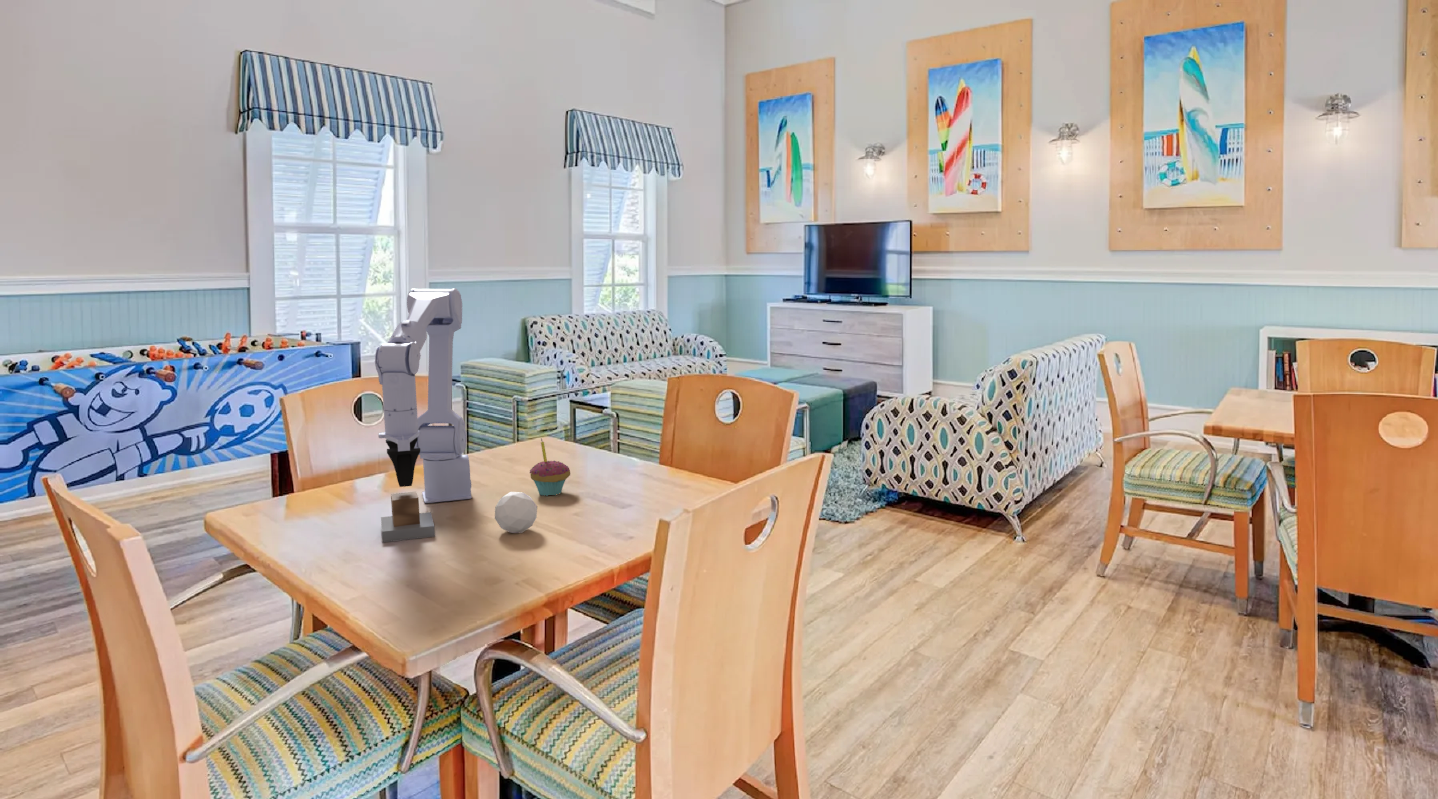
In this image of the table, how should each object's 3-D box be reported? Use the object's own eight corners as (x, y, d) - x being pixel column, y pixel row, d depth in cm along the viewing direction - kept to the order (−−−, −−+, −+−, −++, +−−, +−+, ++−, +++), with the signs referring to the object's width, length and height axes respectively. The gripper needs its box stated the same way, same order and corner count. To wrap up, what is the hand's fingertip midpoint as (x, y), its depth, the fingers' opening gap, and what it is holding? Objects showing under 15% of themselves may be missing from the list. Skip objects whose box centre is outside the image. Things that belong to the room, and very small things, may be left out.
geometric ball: (516, 541, 164) (524, 502, 167) (540, 535, 159) (549, 495, 162) (482, 529, 159) (491, 489, 163) (506, 523, 154) (516, 481, 158)
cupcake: (522, 495, 184) (520, 441, 182) (545, 485, 192) (543, 433, 190) (557, 500, 181) (555, 445, 179) (578, 490, 189) (577, 436, 187)
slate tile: (431, 521, 166) (430, 512, 166) (434, 536, 158) (434, 525, 158) (381, 527, 163) (380, 517, 163) (382, 542, 155) (381, 531, 155)
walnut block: (417, 516, 163) (416, 491, 162) (419, 523, 159) (418, 497, 158) (392, 519, 161) (390, 494, 160) (394, 526, 157) (392, 500, 156)
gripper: (376, 403, 162) (380, 473, 164) (377, 417, 148) (382, 493, 151) (415, 400, 164) (419, 469, 167) (420, 414, 151) (424, 489, 153)
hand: (404, 480), depth 159 cm, fingers open, 7 cm apart
